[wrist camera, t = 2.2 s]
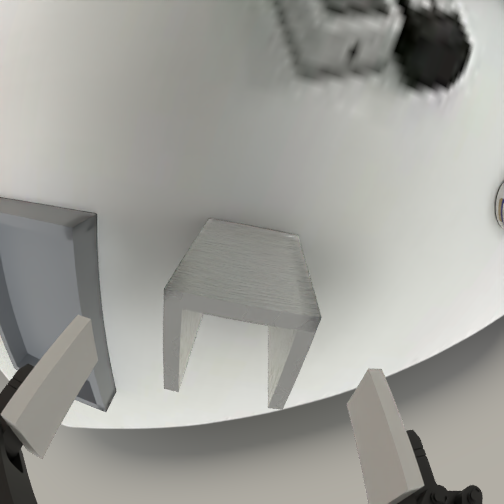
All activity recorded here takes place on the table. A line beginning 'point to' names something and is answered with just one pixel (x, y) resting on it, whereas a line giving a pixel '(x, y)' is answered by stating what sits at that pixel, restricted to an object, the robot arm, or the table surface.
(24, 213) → the tray
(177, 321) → the u-shaped arch block
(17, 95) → the table surface
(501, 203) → the pill bottle
